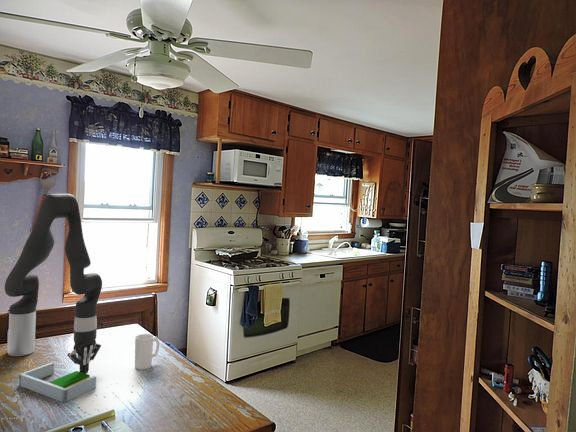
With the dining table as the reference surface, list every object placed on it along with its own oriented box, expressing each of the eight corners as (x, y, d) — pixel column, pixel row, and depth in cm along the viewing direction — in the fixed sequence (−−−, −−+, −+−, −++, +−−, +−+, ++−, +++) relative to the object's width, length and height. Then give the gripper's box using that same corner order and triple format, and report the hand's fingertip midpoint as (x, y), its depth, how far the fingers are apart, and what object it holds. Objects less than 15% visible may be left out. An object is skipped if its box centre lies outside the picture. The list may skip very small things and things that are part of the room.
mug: (139, 371, 154) (140, 341, 153) (131, 366, 158) (132, 336, 158) (162, 364, 161) (164, 335, 161) (154, 359, 166) (155, 331, 165)
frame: (19, 385, 138) (19, 374, 138) (51, 372, 149) (52, 362, 149) (64, 402, 129) (64, 390, 128) (95, 387, 140) (96, 376, 139)
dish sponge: (90, 381, 145) (90, 374, 145) (54, 397, 132) (54, 390, 132) (76, 376, 148) (76, 370, 147) (40, 392, 135) (40, 385, 135)
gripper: (93, 321, 155) (92, 365, 156) (62, 330, 143) (60, 378, 144) (107, 324, 152) (105, 369, 153) (76, 334, 140) (75, 382, 140)
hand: (84, 373), depth 148 cm, fingers closed
